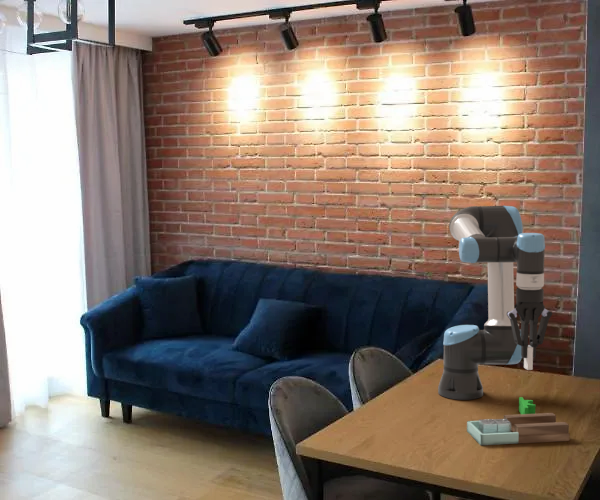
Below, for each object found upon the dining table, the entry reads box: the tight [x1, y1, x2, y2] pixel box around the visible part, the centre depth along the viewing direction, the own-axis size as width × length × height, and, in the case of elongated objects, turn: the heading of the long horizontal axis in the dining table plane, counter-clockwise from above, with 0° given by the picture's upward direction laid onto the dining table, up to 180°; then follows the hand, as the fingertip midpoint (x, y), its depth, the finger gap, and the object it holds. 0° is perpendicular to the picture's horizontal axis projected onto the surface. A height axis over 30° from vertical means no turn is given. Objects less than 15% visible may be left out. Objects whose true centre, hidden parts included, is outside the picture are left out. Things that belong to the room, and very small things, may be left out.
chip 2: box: [492, 418, 511, 433], centre depth 225 cm, size 4×4×4 cm
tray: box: [466, 420, 519, 446], centre depth 225 cm, size 12×11×3 cm
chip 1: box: [478, 418, 497, 434], centre depth 225 cm, size 4×4×4 cm
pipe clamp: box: [518, 396, 536, 414], centre depth 243 cm, size 11×4×5 cm, turn 173°
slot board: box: [503, 412, 570, 444], centre depth 226 cm, size 12×15×4 cm
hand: (528, 368), depth 224 cm, fingers closed
